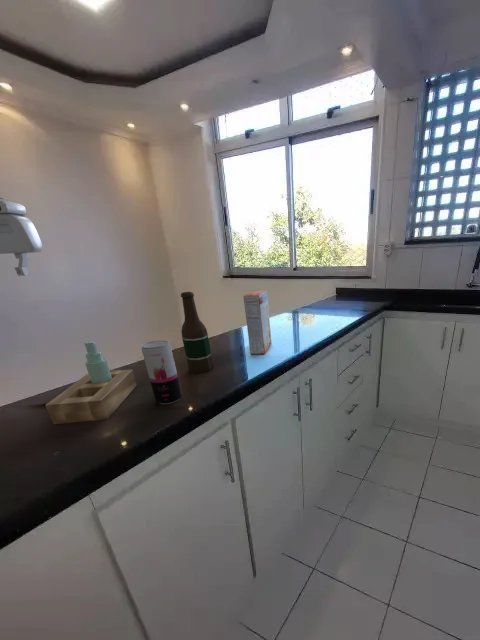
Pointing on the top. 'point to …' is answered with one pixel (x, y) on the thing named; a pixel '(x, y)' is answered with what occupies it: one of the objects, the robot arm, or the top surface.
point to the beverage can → (162, 371)
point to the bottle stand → (91, 398)
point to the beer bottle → (195, 337)
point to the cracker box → (258, 321)
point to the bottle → (96, 364)
